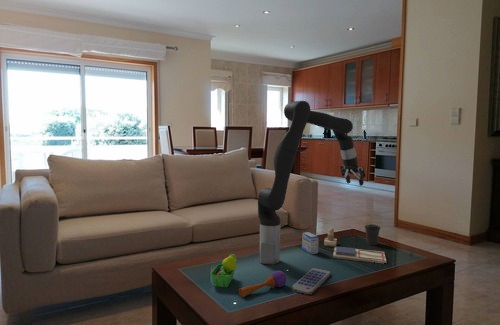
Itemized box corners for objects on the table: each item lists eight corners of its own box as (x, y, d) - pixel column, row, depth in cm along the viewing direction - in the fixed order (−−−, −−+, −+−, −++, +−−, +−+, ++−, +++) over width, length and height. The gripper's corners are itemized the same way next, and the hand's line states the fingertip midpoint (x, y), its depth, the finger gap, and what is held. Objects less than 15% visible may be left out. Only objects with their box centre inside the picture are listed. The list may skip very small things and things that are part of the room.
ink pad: (355, 256, 166) (355, 254, 166) (335, 254, 168) (335, 251, 168) (355, 250, 174) (355, 248, 174) (336, 248, 177) (336, 246, 177)
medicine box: (301, 249, 178) (302, 232, 177) (309, 248, 180) (309, 231, 179) (310, 254, 171) (311, 237, 170) (318, 253, 173) (318, 235, 172)
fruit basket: (218, 275, 144) (218, 248, 143) (239, 277, 143) (239, 250, 142) (210, 287, 133) (210, 258, 132) (233, 289, 132) (233, 260, 131)
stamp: (335, 247, 182) (336, 231, 182) (324, 246, 184) (324, 230, 183) (336, 243, 188) (337, 228, 187) (325, 242, 190) (325, 227, 189)
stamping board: (386, 263, 160) (386, 261, 160) (332, 258, 166) (333, 255, 166) (384, 253, 173) (384, 251, 173) (334, 248, 180) (334, 246, 180)
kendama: (235, 283, 128) (278, 267, 139) (238, 299, 128) (281, 282, 139) (244, 286, 123) (288, 269, 134) (247, 303, 123) (290, 285, 134)
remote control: (330, 276, 147) (330, 271, 146) (310, 297, 127) (310, 291, 127) (312, 272, 151) (312, 267, 151) (290, 291, 131) (290, 285, 131)
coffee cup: (364, 245, 186) (365, 226, 185) (363, 240, 194) (364, 222, 193) (380, 246, 184) (381, 227, 183) (379, 242, 192) (379, 223, 191)
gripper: (334, 157, 190) (340, 185, 194) (355, 159, 178) (361, 188, 182) (343, 152, 193) (349, 179, 198) (364, 154, 182) (370, 182, 186)
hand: (355, 184), depth 190 cm, fingers open, 8 cm apart
